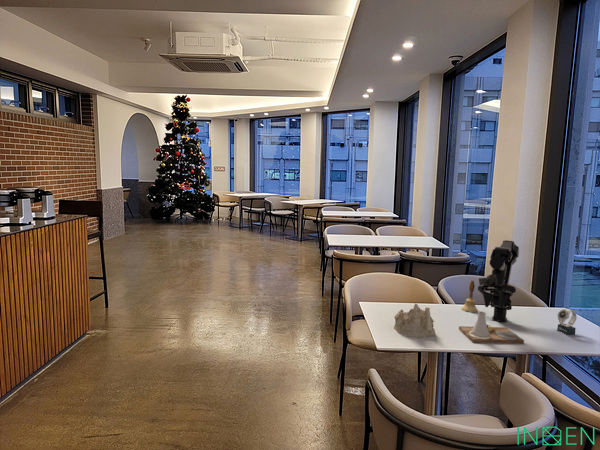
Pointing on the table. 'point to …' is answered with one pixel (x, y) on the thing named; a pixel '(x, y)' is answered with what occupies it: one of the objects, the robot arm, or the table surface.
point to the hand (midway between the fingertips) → (493, 307)
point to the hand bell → (470, 300)
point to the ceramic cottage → (415, 323)
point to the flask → (480, 326)
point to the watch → (568, 327)
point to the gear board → (492, 335)
